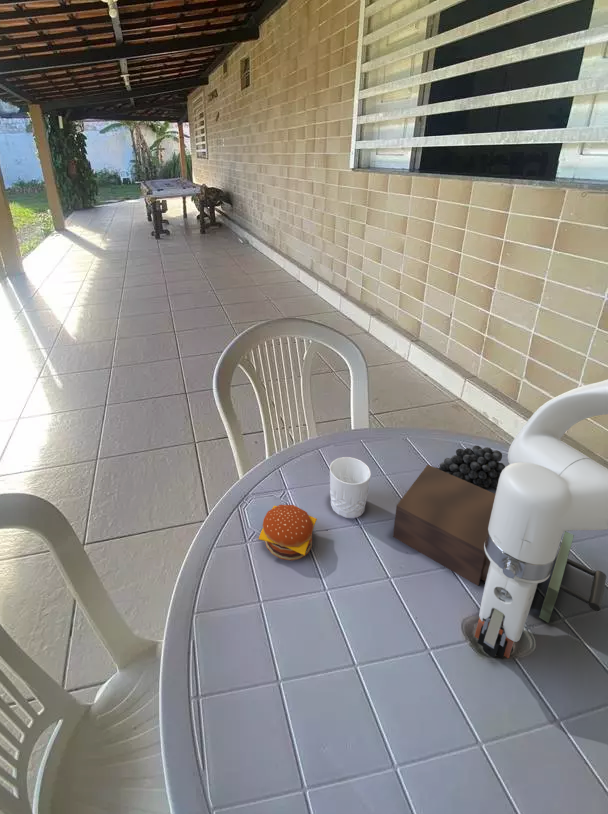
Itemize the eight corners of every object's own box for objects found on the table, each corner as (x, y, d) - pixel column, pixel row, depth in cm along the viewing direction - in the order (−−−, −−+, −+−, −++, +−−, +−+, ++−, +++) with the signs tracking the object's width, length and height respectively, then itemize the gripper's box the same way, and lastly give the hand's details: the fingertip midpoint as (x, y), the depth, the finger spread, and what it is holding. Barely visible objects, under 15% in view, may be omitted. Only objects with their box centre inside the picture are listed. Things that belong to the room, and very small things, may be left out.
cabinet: (501, 535, 80) (510, 500, 77) (477, 589, 70) (486, 552, 67) (422, 496, 90) (427, 464, 87) (392, 540, 80) (396, 505, 77)
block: (515, 638, 63) (521, 618, 62) (507, 662, 60) (513, 642, 59) (482, 618, 66) (487, 599, 65) (473, 640, 63) (478, 620, 62)
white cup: (340, 488, 93) (342, 451, 90) (374, 507, 88) (378, 468, 84) (320, 509, 88) (321, 471, 84) (354, 530, 83) (357, 490, 79)
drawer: (601, 582, 69) (613, 552, 67) (590, 646, 61) (602, 615, 58) (477, 522, 82) (483, 494, 79) (453, 568, 73) (458, 539, 71)
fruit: (438, 454, 88) (514, 453, 87) (423, 441, 97) (493, 439, 95) (439, 494, 89) (515, 494, 87) (424, 478, 97) (494, 477, 95)
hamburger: (317, 530, 83) (318, 504, 81) (305, 572, 75) (306, 545, 73) (271, 516, 87) (271, 491, 85) (256, 555, 79) (255, 528, 76)
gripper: (537, 615, 49) (508, 710, 55) (564, 526, 60) (537, 614, 66) (466, 575, 54) (447, 665, 60) (503, 499, 65) (483, 583, 71)
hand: (494, 637), depth 63 cm, fingers closed on block, 4 cm apart
